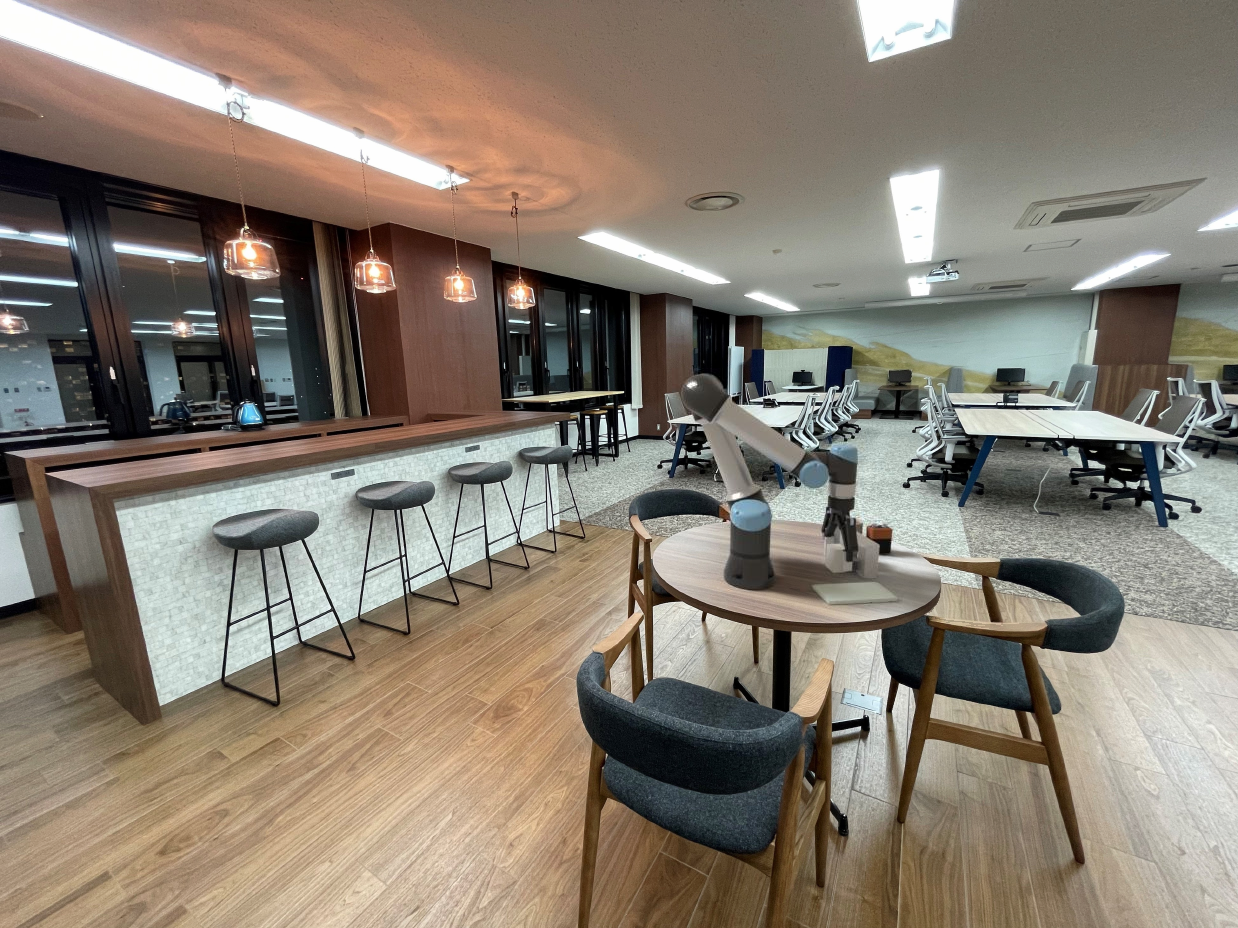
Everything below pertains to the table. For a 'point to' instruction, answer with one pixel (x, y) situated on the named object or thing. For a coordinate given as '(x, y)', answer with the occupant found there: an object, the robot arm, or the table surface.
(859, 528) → the coffee mug
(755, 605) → the table surface
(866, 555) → the grey arch block
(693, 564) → the table surface
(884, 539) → the battery
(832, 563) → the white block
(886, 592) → the mat
